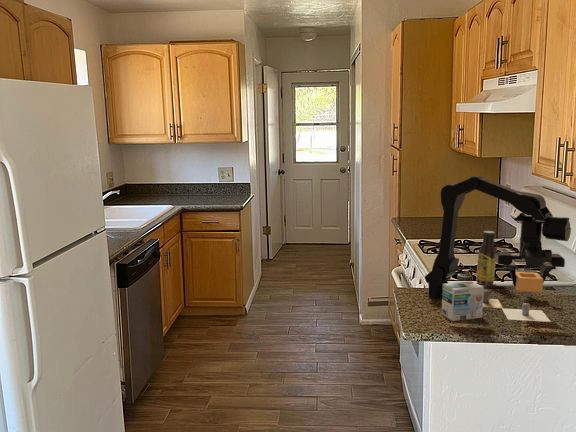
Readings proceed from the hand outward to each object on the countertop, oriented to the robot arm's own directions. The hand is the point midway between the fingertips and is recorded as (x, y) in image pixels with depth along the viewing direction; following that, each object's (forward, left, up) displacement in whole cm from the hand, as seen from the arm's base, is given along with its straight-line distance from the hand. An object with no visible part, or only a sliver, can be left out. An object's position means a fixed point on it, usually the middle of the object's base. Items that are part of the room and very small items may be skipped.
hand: (527, 286), depth 168 cm
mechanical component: (+5, +19, -10) cm, 22 cm away
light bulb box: (-19, -4, -10) cm, 22 cm away
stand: (-10, +10, -10) cm, 17 cm away
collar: (0, 0, 0) cm, 0 cm away
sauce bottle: (-6, +36, -10) cm, 38 cm away
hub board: (0, 0, -10) cm, 10 cm away
